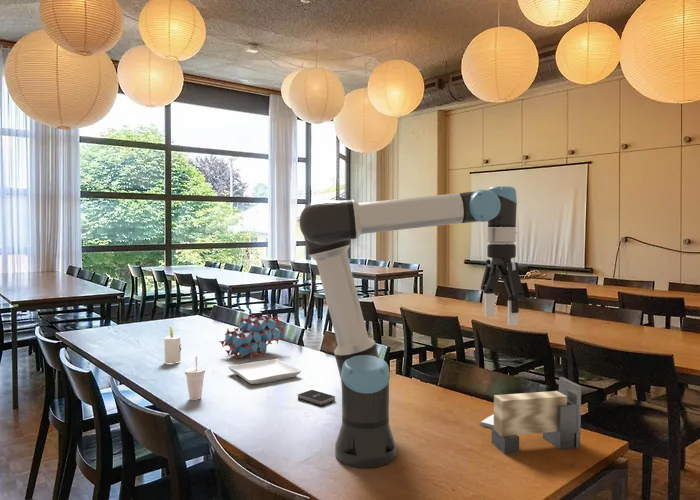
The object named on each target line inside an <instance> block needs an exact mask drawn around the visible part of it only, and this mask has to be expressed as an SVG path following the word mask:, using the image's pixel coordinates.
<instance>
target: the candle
mask: <svg viewBox="0 0 700 500" xmlns="http://www.w3.org/2000/svg"><path fill="white" fill-rule="evenodd" d="M181 346H182V344H181V336H179V335H174V330H173V328H172V326H169V335H168V336H165V337H164V363H165V362H166V363H176V362H179V361H181V355H182V354H181V352H182V347H181Z"/></svg>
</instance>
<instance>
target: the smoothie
mask: <svg viewBox="0 0 700 500" xmlns="http://www.w3.org/2000/svg"><path fill="white" fill-rule="evenodd" d="M194 358H195V367H189V368H187V369H185V370H184V375H186V376H185V377H186V384H187V390H188V398H189V400H190V399H191V400H196V401H198V400H197V399H200V398H201V399H202V396H203V394H202V393H203V385H204V378H205V377H204V375H205V374H206V369H205V368H204V367H199V366H198V356H197V355H195V357H194ZM201 399H200V400H201ZM191 400H190V401H191Z"/></svg>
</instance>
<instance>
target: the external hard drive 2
mask: <svg viewBox="0 0 700 500" xmlns="http://www.w3.org/2000/svg"><path fill="white" fill-rule="evenodd" d="M479 423H480V424H479V425H480V426H482V427H485V428H489V429H492V427H494V413H493V414H491V415H490V416H487V417H486V418H484V419H483V420H482V421H480V422H479Z"/></svg>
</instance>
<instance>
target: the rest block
mask: <svg viewBox="0 0 700 500" xmlns="http://www.w3.org/2000/svg"><path fill="white" fill-rule="evenodd" d="M491 444H493V445H494V447H496V448H497V449H498V450H499V451H500V452H502V454H504V455H507V454H508V455H509V454H519V453H520V436H519V435H510V436H501V435H500V434H498V433H497V432H496V431H495V430H494V427H492V428H491Z"/></svg>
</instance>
